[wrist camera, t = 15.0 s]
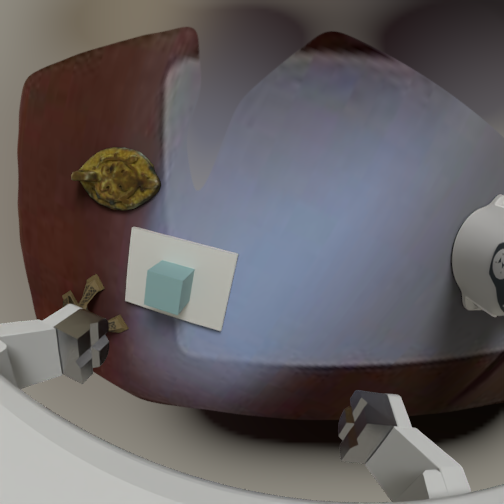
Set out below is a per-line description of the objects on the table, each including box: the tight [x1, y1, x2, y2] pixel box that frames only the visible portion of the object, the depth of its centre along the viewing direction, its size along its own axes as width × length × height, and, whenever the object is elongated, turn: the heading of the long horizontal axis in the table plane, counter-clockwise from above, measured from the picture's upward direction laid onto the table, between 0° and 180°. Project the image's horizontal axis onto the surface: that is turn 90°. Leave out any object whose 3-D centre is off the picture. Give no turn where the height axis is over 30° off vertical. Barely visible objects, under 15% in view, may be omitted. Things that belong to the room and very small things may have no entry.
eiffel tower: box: [62, 274, 128, 333], centre depth 36 cm, size 11×11×25 cm
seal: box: [71, 147, 161, 210], centre depth 40 cm, size 9×5×15 cm
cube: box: [144, 260, 195, 315], centre depth 41 cm, size 5×5×5 cm
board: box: [125, 227, 239, 331], centre depth 44 cm, size 16×12×1 cm
